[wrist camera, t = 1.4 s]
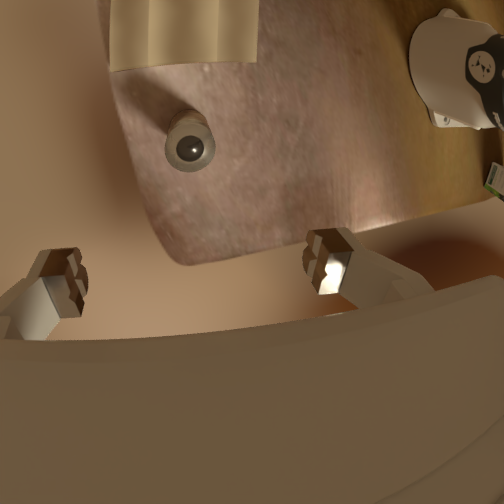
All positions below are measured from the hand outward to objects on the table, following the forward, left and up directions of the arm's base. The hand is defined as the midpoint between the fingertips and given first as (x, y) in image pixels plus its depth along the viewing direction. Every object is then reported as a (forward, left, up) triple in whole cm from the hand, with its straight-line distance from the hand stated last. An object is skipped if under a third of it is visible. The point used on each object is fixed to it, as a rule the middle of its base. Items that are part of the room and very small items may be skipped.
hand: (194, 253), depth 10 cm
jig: (0, -16, -23) cm, 27 cm away
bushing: (0, 0, -23) cm, 23 cm away
